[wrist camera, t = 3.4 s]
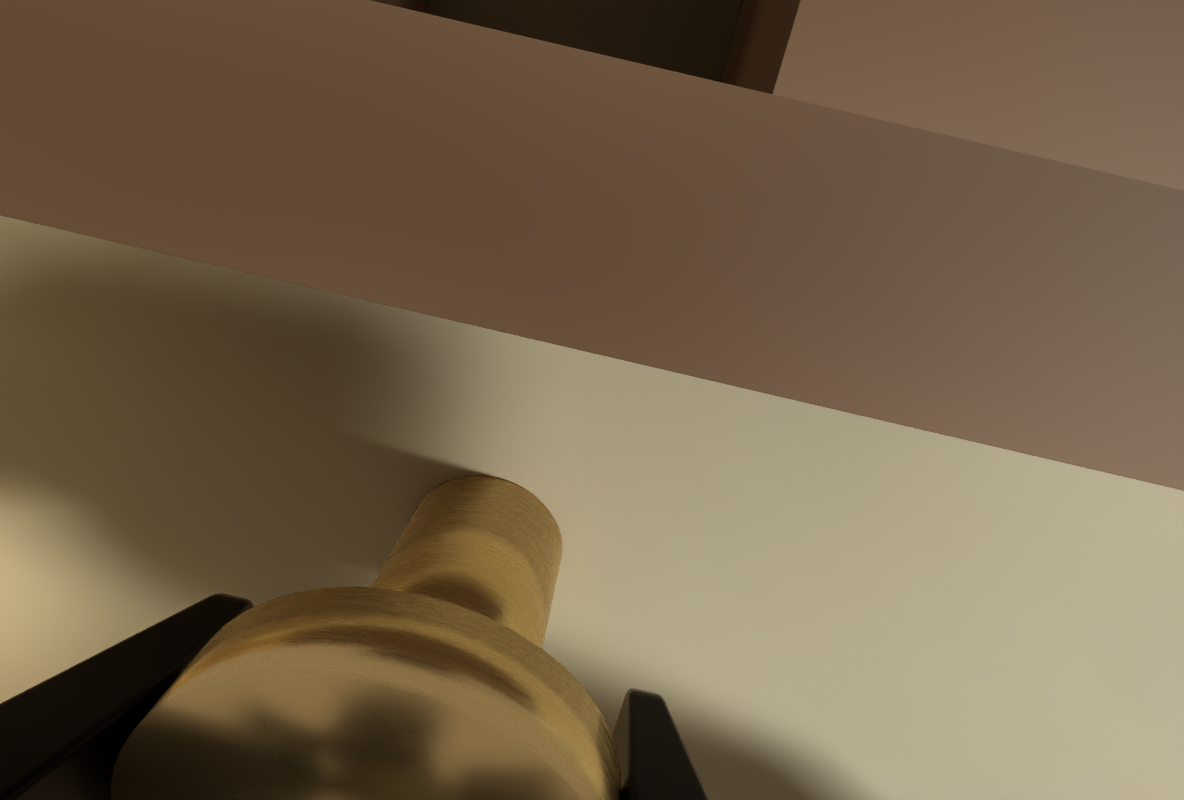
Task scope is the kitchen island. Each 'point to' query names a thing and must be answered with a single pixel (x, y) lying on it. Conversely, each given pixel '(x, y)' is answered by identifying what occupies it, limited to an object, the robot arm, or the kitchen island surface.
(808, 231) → the brown box
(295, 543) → the kitchen island surface
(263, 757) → the gold metal dome
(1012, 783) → the kitchen island surface
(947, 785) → the kitchen island surface
